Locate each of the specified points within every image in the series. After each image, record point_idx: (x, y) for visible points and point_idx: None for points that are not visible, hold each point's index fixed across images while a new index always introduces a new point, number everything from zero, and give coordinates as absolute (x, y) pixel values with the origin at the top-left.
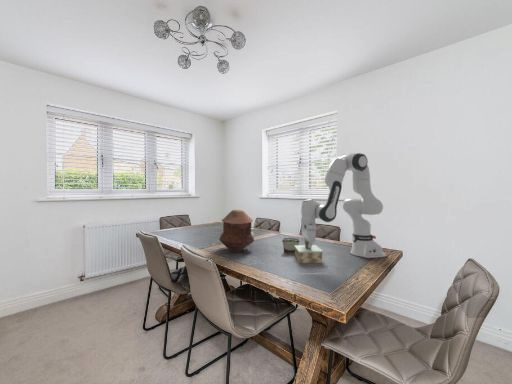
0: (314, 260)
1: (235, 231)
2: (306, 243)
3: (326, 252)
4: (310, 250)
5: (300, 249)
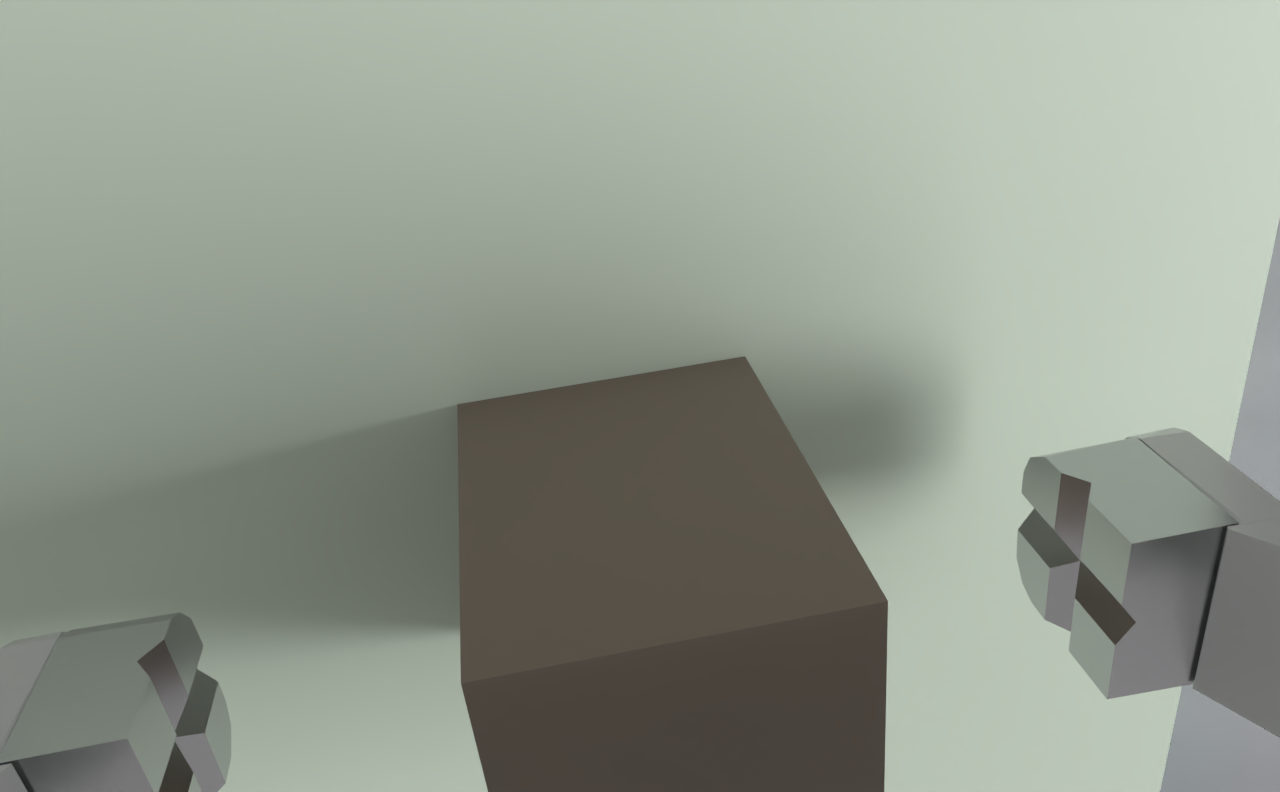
0: None
1: None
2: (462, 638)
3: (1257, 767)
4: (113, 601)
5: (186, 2)
